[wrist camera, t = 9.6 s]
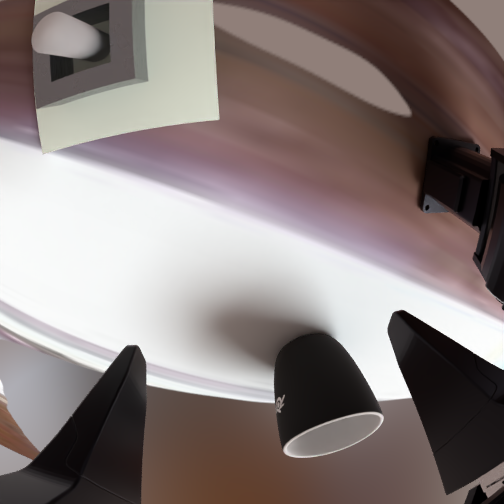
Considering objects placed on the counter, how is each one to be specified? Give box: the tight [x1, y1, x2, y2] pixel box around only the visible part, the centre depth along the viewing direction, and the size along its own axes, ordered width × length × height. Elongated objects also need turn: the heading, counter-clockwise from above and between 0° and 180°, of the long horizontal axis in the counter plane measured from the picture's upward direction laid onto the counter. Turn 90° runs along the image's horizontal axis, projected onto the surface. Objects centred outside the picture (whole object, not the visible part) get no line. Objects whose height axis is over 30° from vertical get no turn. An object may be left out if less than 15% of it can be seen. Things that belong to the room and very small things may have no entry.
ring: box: [33, 0, 148, 109], centre depth 11 cm, size 6×6×3 cm
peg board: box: [31, 0, 219, 154], centre depth 10 cm, size 12×12×7 cm
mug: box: [274, 334, 383, 458], centre depth 25 cm, size 12×9×10 cm
